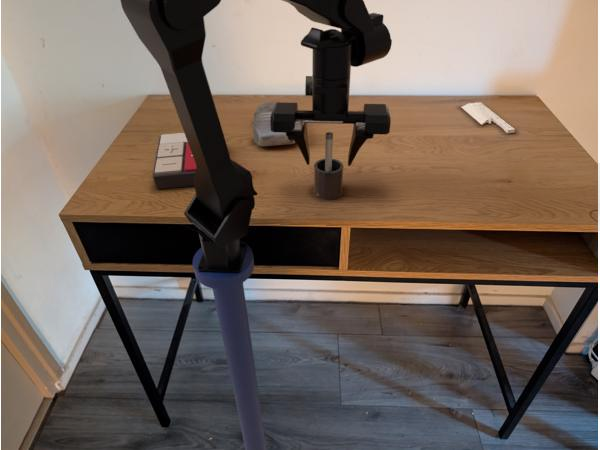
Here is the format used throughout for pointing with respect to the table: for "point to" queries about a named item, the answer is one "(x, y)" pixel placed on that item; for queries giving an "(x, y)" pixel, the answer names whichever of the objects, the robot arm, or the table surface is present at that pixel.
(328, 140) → the stylus
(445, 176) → the table surface
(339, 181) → the pen cup
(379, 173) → the table surface
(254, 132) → the handheld device
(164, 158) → the calculator
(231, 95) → the table surface
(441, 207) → the table surface
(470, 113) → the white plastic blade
